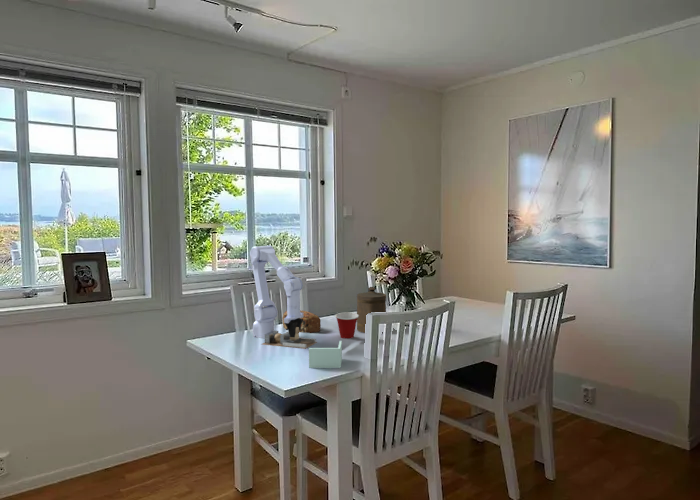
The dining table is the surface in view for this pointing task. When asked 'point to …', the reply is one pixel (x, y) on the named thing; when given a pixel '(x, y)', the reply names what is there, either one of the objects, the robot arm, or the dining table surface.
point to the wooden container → (369, 306)
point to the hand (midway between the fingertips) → (294, 336)
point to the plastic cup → (346, 324)
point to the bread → (307, 322)
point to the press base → (303, 344)
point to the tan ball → (277, 337)
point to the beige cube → (287, 338)
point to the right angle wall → (325, 357)
